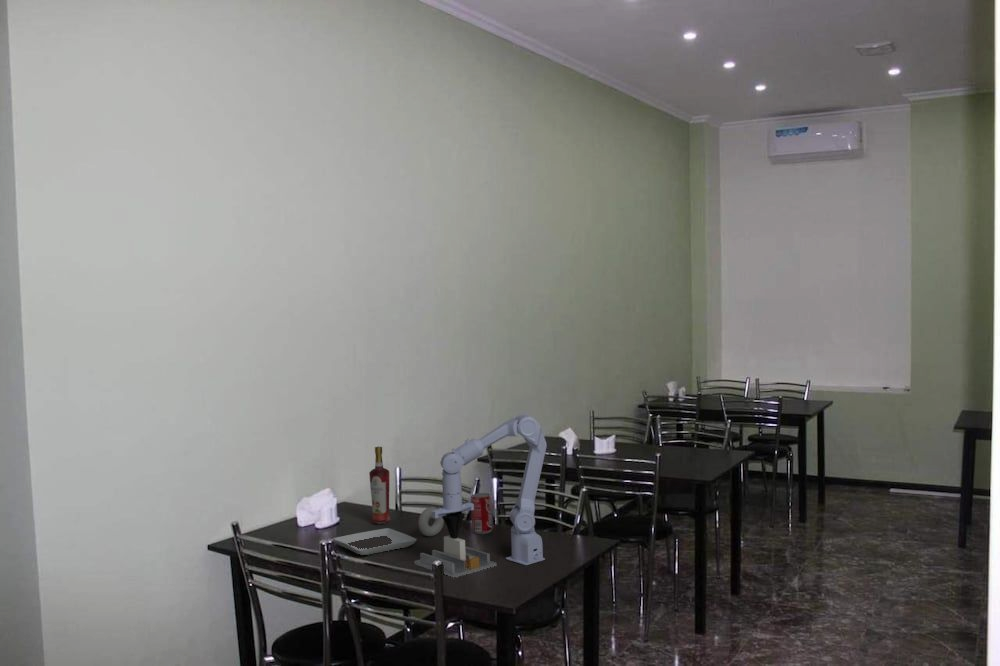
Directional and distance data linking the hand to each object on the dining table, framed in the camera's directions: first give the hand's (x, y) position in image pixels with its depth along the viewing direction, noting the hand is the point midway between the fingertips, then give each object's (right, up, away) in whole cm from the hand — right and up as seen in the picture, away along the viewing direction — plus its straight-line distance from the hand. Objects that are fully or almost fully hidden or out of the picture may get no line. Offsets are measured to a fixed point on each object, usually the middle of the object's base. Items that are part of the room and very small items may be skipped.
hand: (454, 537), depth 257 cm
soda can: (+8, -7, +38) cm, 39 cm away
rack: (0, -8, 0) cm, 8 cm away
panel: (0, -7, 0) cm, 7 cm away
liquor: (-30, -8, +56) cm, 64 cm away
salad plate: (-27, -9, +24) cm, 38 cm away
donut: (-9, -8, +35) cm, 37 cm away
